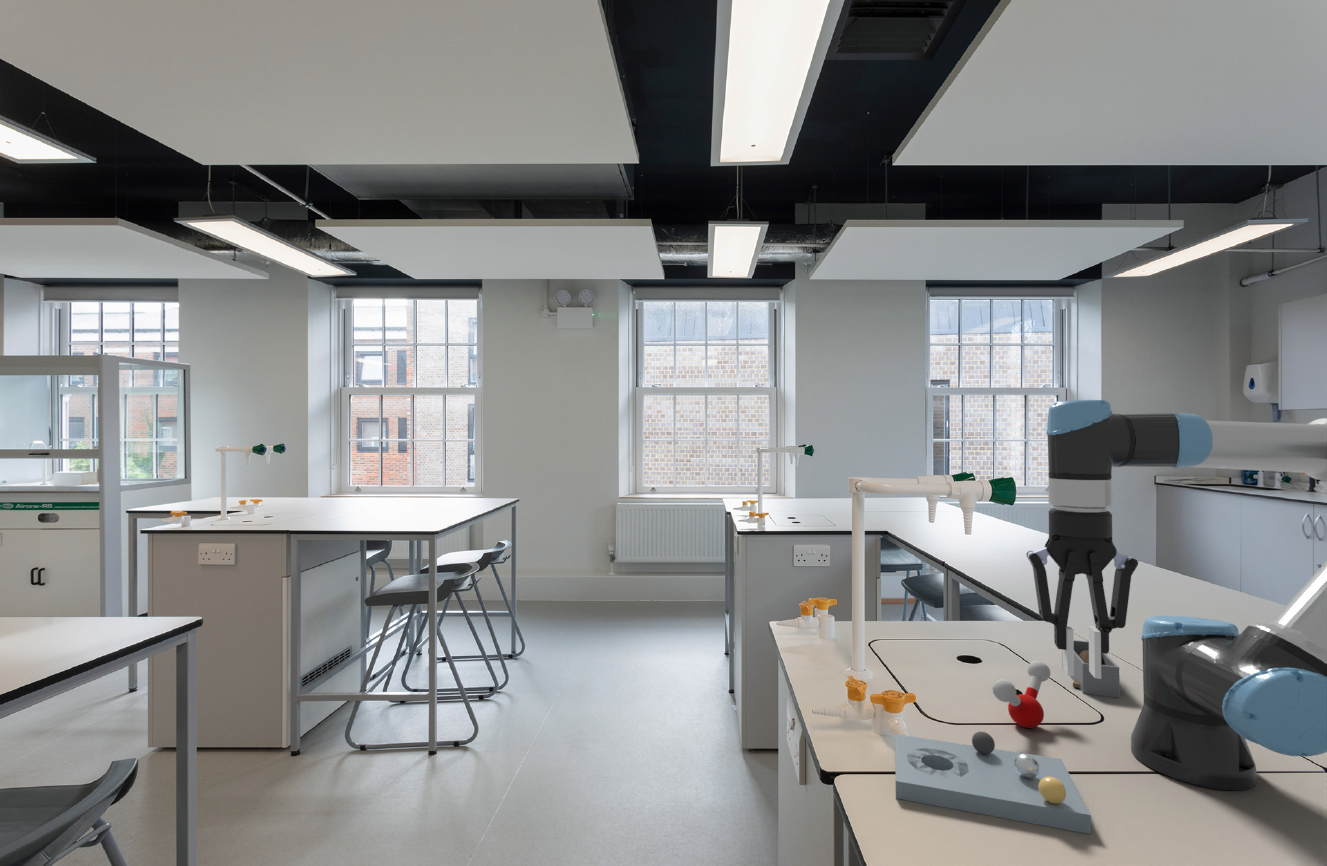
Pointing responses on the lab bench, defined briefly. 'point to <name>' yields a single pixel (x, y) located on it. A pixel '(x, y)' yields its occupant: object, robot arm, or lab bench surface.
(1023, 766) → the steel ball
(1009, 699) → the molecular model
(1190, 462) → the robot arm
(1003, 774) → the plate
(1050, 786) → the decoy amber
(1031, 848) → the lab bench surface
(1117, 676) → the open storage box
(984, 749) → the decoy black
